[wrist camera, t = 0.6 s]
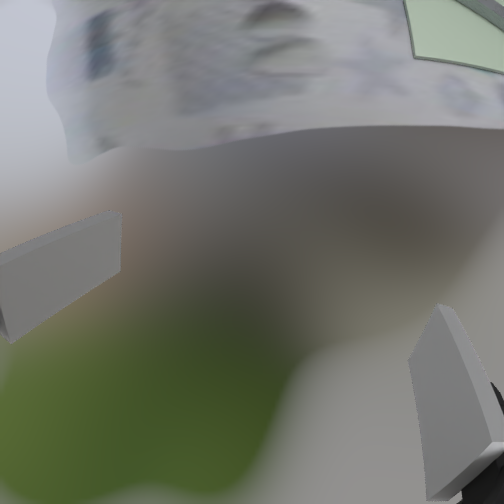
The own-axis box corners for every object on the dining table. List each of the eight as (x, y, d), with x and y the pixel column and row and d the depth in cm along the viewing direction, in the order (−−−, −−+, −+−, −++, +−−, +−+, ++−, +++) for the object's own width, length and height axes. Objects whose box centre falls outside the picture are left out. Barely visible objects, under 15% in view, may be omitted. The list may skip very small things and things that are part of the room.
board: (389, -48, 22) (390, -53, 21) (543, -5, 15) (546, -8, 14) (413, 58, 27) (415, 55, 26) (568, 95, 20) (572, 95, 19)
